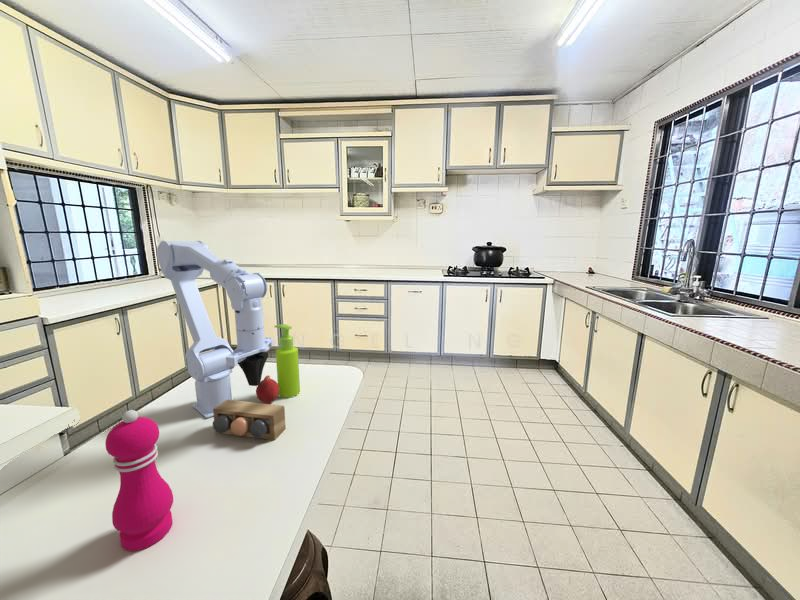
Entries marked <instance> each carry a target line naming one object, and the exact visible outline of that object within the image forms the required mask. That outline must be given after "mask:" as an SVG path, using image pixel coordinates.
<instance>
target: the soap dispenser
mask: <svg viewBox="0 0 800 600" xmlns="http://www.w3.org/2000/svg"><path fill="white" fill-rule="evenodd" d="M274 328H279V329H282V330H281V331H282V336H281V337H280V338H279V348H277V349H276V350H275V360H276V375H277V384H278V385H279V388H280V391H279V395H280V396H281V397H280V396H279V395H278V396H279V397H280V398H282V397H291V398H293V397H292V396H295V395H297V394H298V395H299V394H300V393H299V392H301V387H300V384H301V383H300V368H299V367H300V366H299V349H298V347H296V346H294V343H293V341H294V340H293V336H291V335H290V330H291V329H293V327H292V325H288V324H285V323H282V324H278V325H274ZM298 395H297V396H298ZM295 397H296V396H295Z"/></svg>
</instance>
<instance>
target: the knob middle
mask: <svg viewBox="0 0 800 600" xmlns="http://www.w3.org/2000/svg"><path fill="white" fill-rule="evenodd" d="M250 425H251V417H246V416H244V417H238V418H237V419H236V420H234V421H233V422H232V423H231V430H232V432H233V433H234V434H235V436H240V437H242V436H241V435H243V434H244V433H246V432H247V431H248V430H249V427H250Z"/></svg>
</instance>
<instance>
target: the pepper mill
mask: <svg viewBox="0 0 800 600" xmlns="http://www.w3.org/2000/svg"><path fill="white" fill-rule="evenodd" d="M121 420H122V421H121V422H118V423H117V424H116V425H115V426H113V427H112V428H111V429H110V431H109V432H108V433H107V436H106V439H105V445H104V446H105V448H106V449H105V450H106V452H107V454H108V455H110V456H111V457H113V459H112V463H113V465H114V466H113V468H114V470H115V471H117V472H119V477H120V478H119V479H120V482H119V483H120V485H119V491H118V493H117V497H116V500H115V502H114V504H113V509H112V513H111V515H112V516H111V518H112V519H111V520H112V525H113V527H114V529H116V531H118V532H119V540H120V546H121V547H122V549H124V550H125V551H129V552H136V551H141V550H144V549H147V548H149V547H152V546H154V545H155V544H156V543H158V542H159V541H160V540H162V539H164V538H165V536H166V535H167V534H168V533H169V532H170V530H171V528H172V527H173V524H174V523H173V516H172V515H173V514H172V511H171V508H172V507H173V503H174V495H173V490H172V489H171V487H170V485H169V483H168V482H166V480H165V479H164V478H163V477H162V476H161V474H160V472H159V471H158V468H157V465H156V459H157V458H158V455H159V451H158V445H156V443H157V442H158V440H159V438H160V428H159V426H158V424H157V423H156V421H154V420H153V419H151V418H150V417H146V416H145V417H144V416H140V417H139V414H138V412H137V410H135V409H134V410H133V409H130V410H127V411H125V412H124V413H122V416H121Z"/></svg>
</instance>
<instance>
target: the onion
mask: <svg viewBox="0 0 800 600" xmlns="http://www.w3.org/2000/svg"><path fill="white" fill-rule="evenodd" d="M279 391H280V388H279V385H278V381H276V380H274V379H273V378H271V376H270V375H268V374H267V375H265V376H264V379H261V381H260V384H259V385H258V386H256V389H255V393H256V398H257V399H258V400H259V402H260V403H262V404H272V403H273V402H274V401H275V400H276V399H277V398H278V397H279Z"/></svg>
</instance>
